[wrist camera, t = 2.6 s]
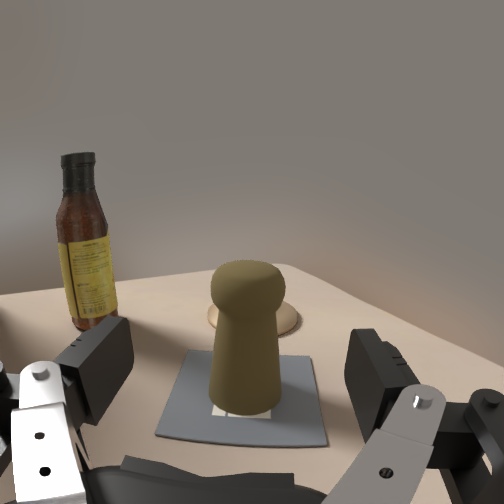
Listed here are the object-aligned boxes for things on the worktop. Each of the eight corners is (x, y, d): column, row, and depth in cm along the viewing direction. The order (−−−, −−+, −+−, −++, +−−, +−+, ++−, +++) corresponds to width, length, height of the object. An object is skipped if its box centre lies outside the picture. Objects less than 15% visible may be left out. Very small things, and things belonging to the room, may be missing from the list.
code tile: (155, 435, 19) (154, 433, 19) (188, 351, 31) (188, 349, 31) (326, 446, 19) (327, 444, 19) (309, 357, 30) (309, 355, 30)
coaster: (200, 335, 34) (199, 330, 34) (214, 297, 45) (214, 293, 45) (301, 340, 34) (301, 335, 34) (293, 300, 44) (293, 296, 44)
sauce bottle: (128, 315, 38) (120, 150, 33) (102, 337, 32) (87, 149, 27) (88, 307, 39) (77, 154, 34) (60, 326, 33) (43, 155, 28)
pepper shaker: (269, 367, 28) (276, 251, 26) (292, 408, 23) (307, 275, 20) (203, 374, 27) (199, 254, 24) (214, 420, 21) (210, 281, 18)
